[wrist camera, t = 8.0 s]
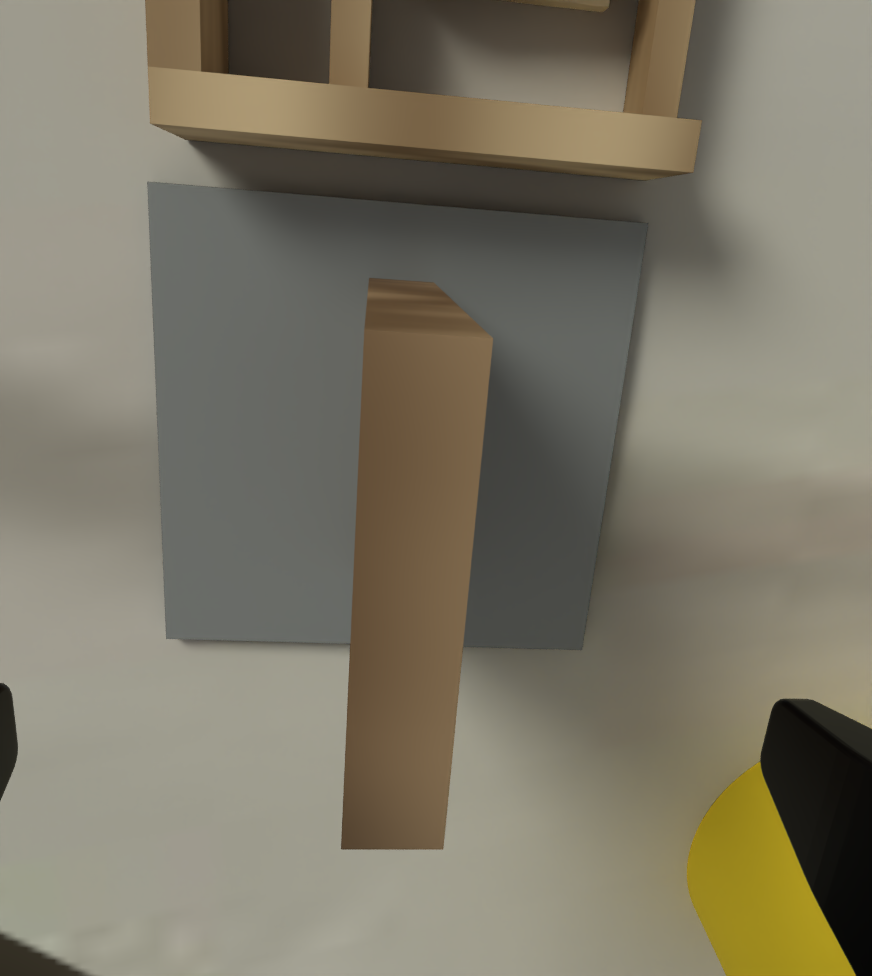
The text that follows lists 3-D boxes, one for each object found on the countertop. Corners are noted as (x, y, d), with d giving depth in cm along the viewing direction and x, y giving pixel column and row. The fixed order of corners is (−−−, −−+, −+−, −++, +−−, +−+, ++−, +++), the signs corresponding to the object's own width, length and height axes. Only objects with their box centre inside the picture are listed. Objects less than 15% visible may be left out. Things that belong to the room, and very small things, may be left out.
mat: (642, 223, 19) (648, 223, 19) (578, 643, 23) (581, 650, 23) (152, 182, 18) (147, 181, 18) (169, 631, 22) (166, 638, 22)
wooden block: (433, 282, 19) (492, 338, 10) (412, 575, 21) (442, 849, 12) (368, 277, 19) (364, 329, 9) (355, 573, 21) (340, 849, 12)
